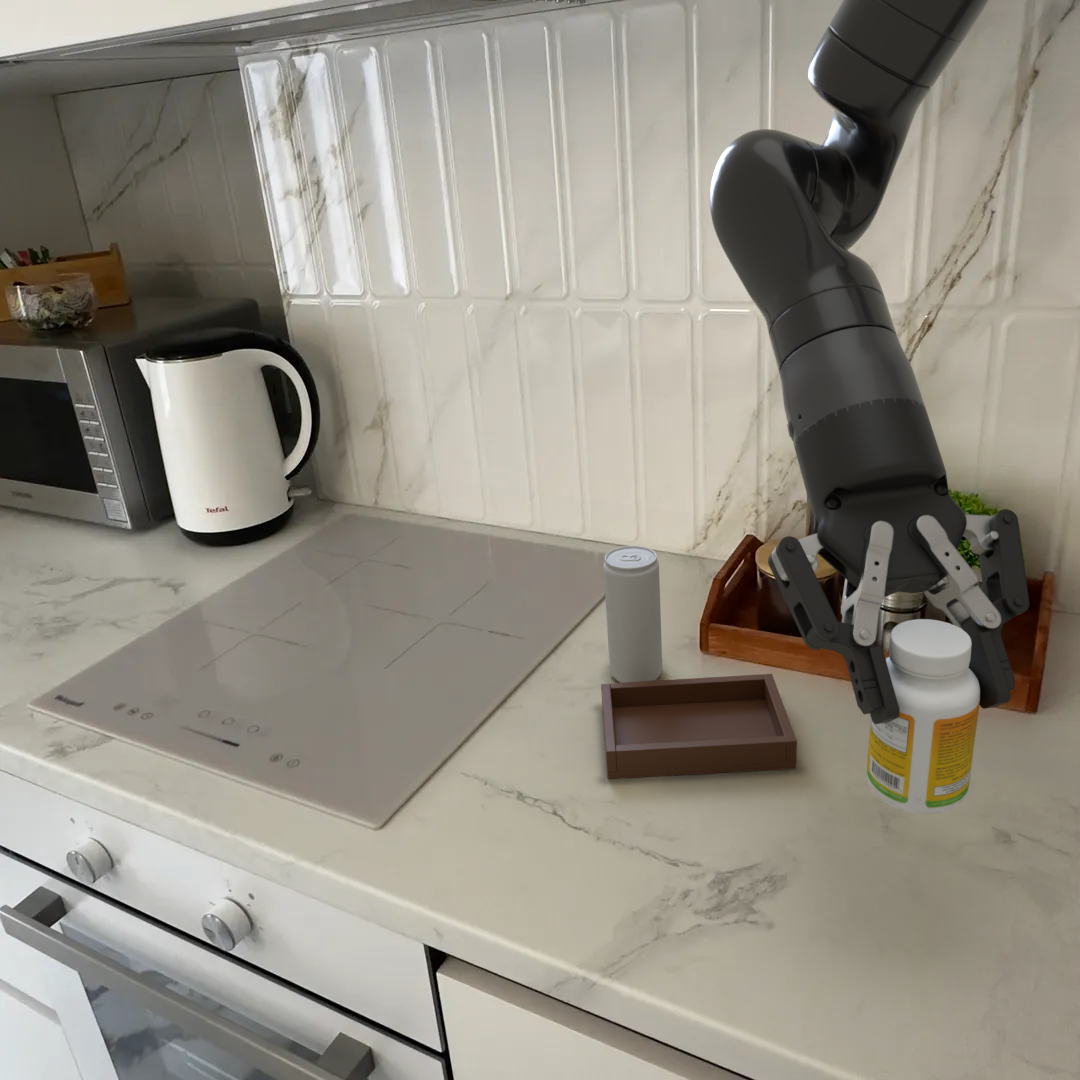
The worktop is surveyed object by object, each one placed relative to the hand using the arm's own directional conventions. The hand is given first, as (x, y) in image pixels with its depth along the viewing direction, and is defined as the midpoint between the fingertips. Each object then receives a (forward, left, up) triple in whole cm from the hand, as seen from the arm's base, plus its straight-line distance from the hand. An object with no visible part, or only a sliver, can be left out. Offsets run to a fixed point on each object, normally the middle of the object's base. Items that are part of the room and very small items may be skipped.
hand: (942, 711), depth 51 cm
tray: (+10, -24, -18) cm, 31 cm away
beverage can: (+14, -34, -18) cm, 41 cm away
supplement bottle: (0, -2, -6) cm, 7 cm away
